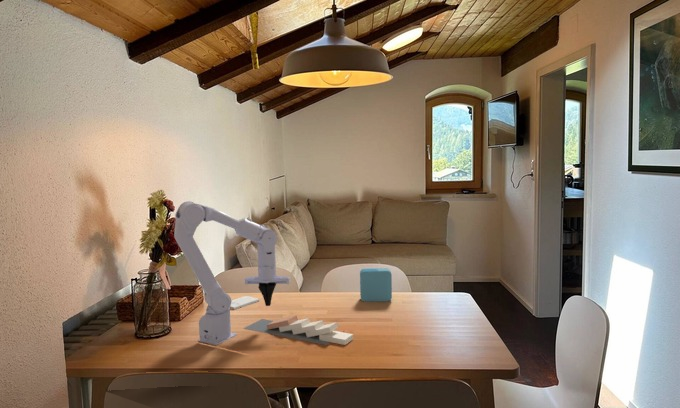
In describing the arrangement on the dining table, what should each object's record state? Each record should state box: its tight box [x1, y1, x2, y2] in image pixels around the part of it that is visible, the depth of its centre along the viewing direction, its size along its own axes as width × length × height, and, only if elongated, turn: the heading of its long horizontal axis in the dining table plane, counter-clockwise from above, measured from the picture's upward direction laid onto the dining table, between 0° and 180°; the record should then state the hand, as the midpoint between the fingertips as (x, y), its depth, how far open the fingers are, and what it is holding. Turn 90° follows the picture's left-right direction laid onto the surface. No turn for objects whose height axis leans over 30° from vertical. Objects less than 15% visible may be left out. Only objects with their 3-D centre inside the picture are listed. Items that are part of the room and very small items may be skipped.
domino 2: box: [279, 317, 312, 332], centre depth 152 cm, size 5×2×9 cm
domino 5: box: [319, 330, 354, 346], centre depth 144 cm, size 5×2×9 cm
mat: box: [243, 318, 332, 346], centre depth 152 cm, size 10×32×1 cm, turn 61°
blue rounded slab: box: [359, 268, 393, 303], centre depth 184 cm, size 12×4×12 cm, turn 89°
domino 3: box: [292, 319, 325, 335], centre depth 149 cm, size 5×2×9 cm
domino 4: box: [306, 321, 340, 337], centre depth 147 cm, size 5×2×9 cm
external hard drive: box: [230, 295, 260, 310], centre depth 184 cm, size 2×8×12 cm
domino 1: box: [267, 315, 299, 330], centre depth 154 cm, size 5×2×9 cm
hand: (268, 305), depth 156 cm, fingers closed
